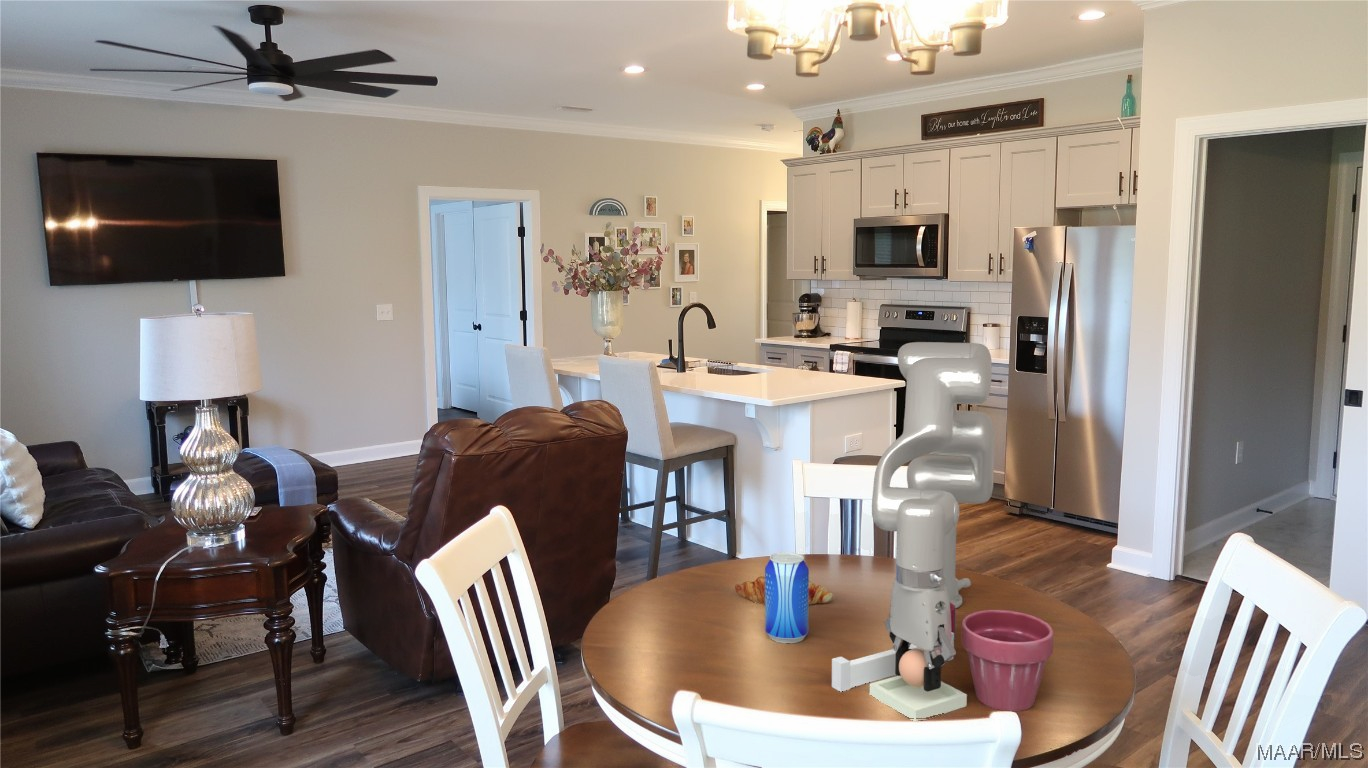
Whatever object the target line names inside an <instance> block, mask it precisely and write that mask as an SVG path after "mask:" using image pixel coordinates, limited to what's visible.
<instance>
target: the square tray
mask: <svg viewBox="0 0 1368 768" xmlns="http://www.w3.org/2000/svg"><path fill="white" fill-rule="evenodd" d="M870 695H872V696H873V697H875V698H876V699H875V698H874V699H875V700H877V699H878V700H879V702H880V701H881V702H880V703H882V704H883V703H884V705H885V704H886V705H885V706H887V705H888V706H890V707H892V708H893V709H895V710H897V711H898V712H900V713H902V714H904V715H905V716H907V717H909V718H914V719H909V720H910V721H912V720H913V721H918V720H923V721H926V720H927V719H916V718H926V717H930V716H933V715H938V714H941V715H943V714H942V713H944V714H948V713H950V712H953V711H956V710H959V709H962V708H965V707H967V703H968V702H967V701H968V700H967V697H968V694H967V693H964V692H963V691H961V690H959V689H956V688H955V687H953V686H952V685H950V684H948V683H946V682H943V681H942V680H941V687H940V688H938V689H935V690H932V691H928V692H927V691H925V690H924V687H914V686H911V685H909V684H908V683H906V682H905V681H904V680H903V678H902V677H901V676H897V675H894V676H890V677H887V678H884V679H880V680H877V681H873V682H870V683H869V696H870ZM872 696H871V697H872ZM873 697H872V698H873ZM878 700H877V701H878ZM888 706H887V707H888ZM890 707H889V708H890ZM892 708H891V709H892ZM893 709H892V710H893ZM895 710H894V711H895ZM897 711H896V712H897ZM898 712H897V713H898ZM900 713H899V714H900ZM902 714H901V715H902ZM905 716H904V717H905ZM938 716H939V715H938ZM907 717H906V718H907ZM913 721H912V722H913Z"/></svg>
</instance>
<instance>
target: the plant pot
mask: <svg viewBox="0 0 1368 768" xmlns="http://www.w3.org/2000/svg"><path fill="white" fill-rule="evenodd" d="M961 644H962V646H963V648H964V649H965V650H966V651H967V655H968V661H969V667H970V671H971V675H972V680H973V685H974V690H975V695H976V698H977V700H978V701H979V702H981V703H982V704H984V705H985V706H987V707H989V708H992V709H995V710H999V711H1006V712H1020V711H1026V710H1028V709H1030V708H1032V706H1034V704H1035V701H1036V697H1037V694H1038V691H1039V687H1040V684H1041V680H1042V677H1043V674H1044V669H1045V666H1046V662H1047V660H1049V658H1051V656H1053V655H1052V654H1053V651H1054V630H1053V628H1052V626H1051V625H1050V624H1049V623H1048V622H1046V621H1044V620H1042V619H1041V618H1039V617H1037V616H1033V615H1031V614H1028V613H1023V612H1018V611H1014V610H1005V609H988V610H987V609H986V610H980V611H975V612H971V613H969V614H968V615H966V616H965V617H964V618H963V619H962V622H961Z"/></svg>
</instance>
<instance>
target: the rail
mask: <svg viewBox="0 0 1368 768" xmlns="http://www.w3.org/2000/svg"><path fill="white" fill-rule="evenodd" d="M951 636H952V637H951V644H952V646H953V647H954V646H955V643H954V642H955V641H954V633H952V632H951ZM954 648H955V647H954ZM909 649H920V650H923V649H921V648H919V647H917V646H915V645H913V644H911V645H910V647H909ZM941 649H942V648H941ZM932 657H933V659H934V658H935V657H936V655H935V651H932ZM895 659H896V651H894V650H893V648H892V649H888V650H885V651H881V652H877V653H874V654H869V655H867V656H862V657H859V658H855V659H851V660H849V659H847V658H845V657H843V656H837V657H834V658H831V688H833V689H835V690H836V691H838V692H839V691H840V692H839V693H843V692H847V691H850V689H851V688H855V686H856V687H859V686H863V685H866V684H870V683H874V682H877V681H881V680H884V679H888V678H891V677H895V676H897V675H896V674H895ZM952 660H954V656H953V657H952V658H950V659H949V660H948V661H947V662H949V661H952ZM869 682H870V683H869ZM865 683H866V684H865ZM846 690H847V691H846ZM842 691H843V692H842Z"/></svg>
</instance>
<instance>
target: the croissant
mask: <svg viewBox="0 0 1368 768" xmlns="http://www.w3.org/2000/svg"><path fill="white" fill-rule="evenodd" d="M734 587H735V588H734V589H735V592H736V593H737V594H738V595H740V596H742V597H744V598H747V599H748V600H749V601H750V602H752V603H755V602H756V603H755V604H761V603H762V604H763V605H765V576H762V575H761V576H758V577H757V578H756V579H755V580H754V581H751V580H749V581H744V582H743V583H739V584H735V586H734ZM833 598H834V594H833V593H832V592H830V591H828V590H827V589H826V588H825V587H823V585H816V584H815V583H814V582H812V581H811V580H809V605H815V604H821V605H823V604H827V603H830V602H831V601H832V600H833ZM762 604H761V605H762Z"/></svg>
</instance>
